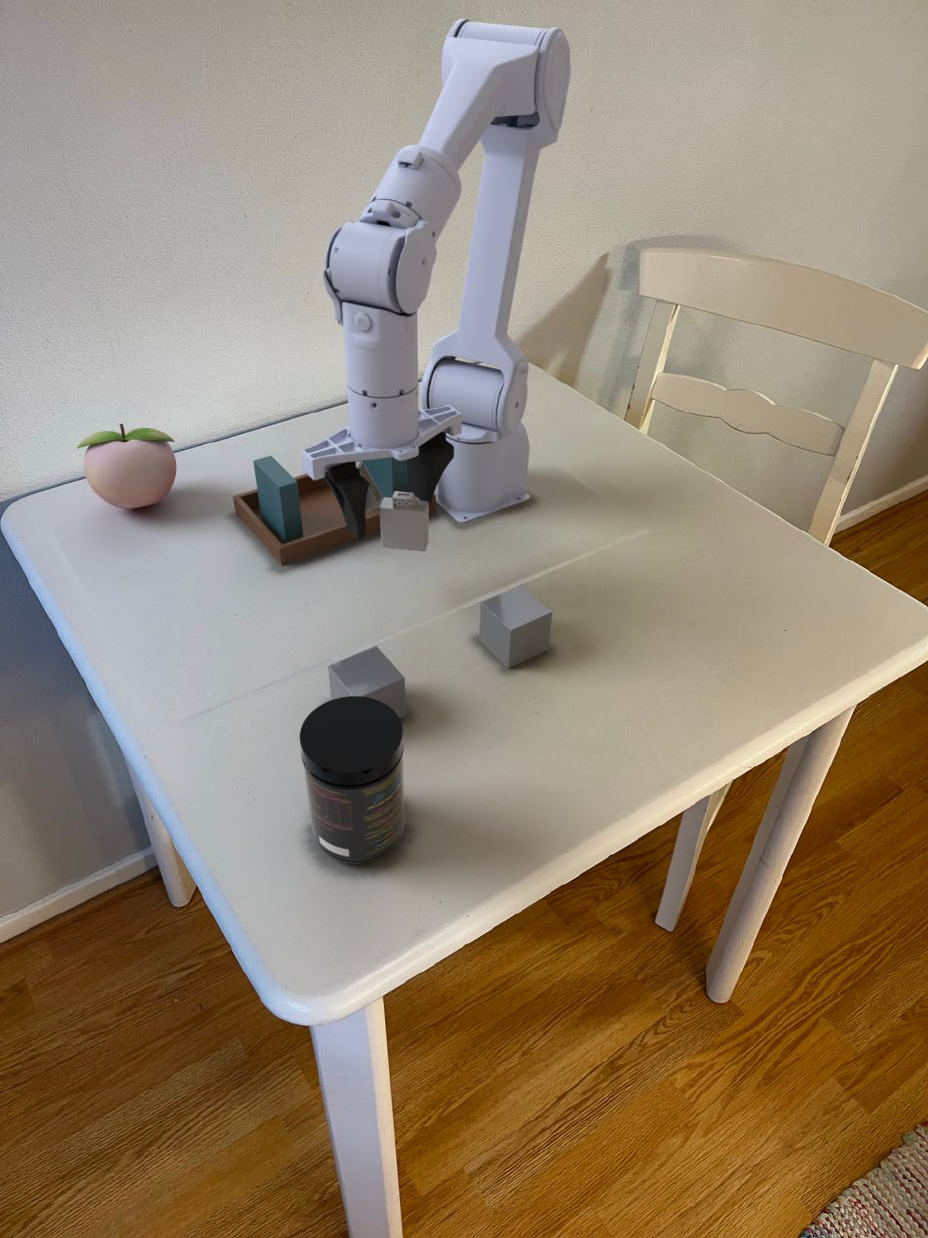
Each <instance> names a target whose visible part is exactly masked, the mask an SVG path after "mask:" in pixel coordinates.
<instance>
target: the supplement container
mask: <svg viewBox="0 0 928 1238" xmlns="http://www.w3.org/2000/svg"><path fill="white" fill-rule="evenodd" d="M299 744H300V745H299V746H300V754H301V755H300V756H301V760H302V765H303V769H304V777H305V785H306V791H307V798H308V799H307V800H308V806H309V811H310V812H309V815H310V821H311V828H312V834H313V838H314V841H315V843H316V844H317V846H318V848H319V849H320V850H321V851H322V852H323V853H324V854H325V855H327V856H328V857H329V858H331V859H333V860H335V861H337V862H340V863H344V864H348V865H363V864H368V863H372V862H376V861H377V860H380V859H382V858H383V857H385V856H386V855H388V854H389V853H391V851H392V850H393V849H395V848H396V846H397V845H398V843H400V840H401V839H402V836H403V834H404V830H405V824H406V823H405V822H406V820H405V785H404V784H405V783H404V781H405V779H404V750H405V749H404V747H405V746H404V745H405V744H404V728H403V723H402V721H401V719H399V717H398V715H397V714H396V713H395V711H394V710H393V709H392V708H390V707H389V706H388V705H386V704H385V703H383V702H381V701H378V700H376V699H372V698H368V697H362V696H348V697H341V698H337V699H333V700H328V701H325V702H324V703H322V704H320V705H318V706H317V707H316V708H314V709H313V710H312V711H311V712H310V713H309V714H308V715H307V716H306V718H305V719H304V721H303V723H302V724H301V727H300V731H299Z"/></svg>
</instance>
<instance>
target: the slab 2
mask: <svg viewBox="0 0 928 1238" xmlns="http://www.w3.org/2000/svg"><path fill="white" fill-rule="evenodd" d="M365 466H366V467H367V469H368V471H369V473H370V474H371V476H372V478H373V480H374V481H375V483H376V485H377V487H378V488H379V490H380V492H381V494H382V495H383V498H385V497H387V498H392V497H393V494H394V492H395V491H399V492H408V470H407V463H406V460H404V461H398V460H396V459H395V458H394V457H389V458H380V459H372V460H365Z"/></svg>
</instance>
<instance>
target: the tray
mask: <svg viewBox="0 0 928 1238" xmlns="http://www.w3.org/2000/svg"><path fill="white" fill-rule="evenodd" d="M363 462H364V464H365V460H363ZM293 478H294V479H295V480H296V481H297V482H298V491H299V500H300V510H301V519H302V528H303V537H302V538H300V539H297V540H294V541H291V542H288V543H285V544H284V543H283V542H282V541H281V540H280V539H279V537H278V536H277V535H276V534H275V533H274V532H273V531H272V530H271V528H270V527H269V526H268V525H267V524H266V523H265V522H264V521H263V519H262V518H261V511H260V504H259V497H258V490H257V488H255V489H252V490H248V491H244V492H242V493H238V494H236V495H233V496H232V500H233V506H234V513H235V514H236V516H237V517H239V519H240V520H241V521H242V523H243V524H244V525H245V526H246V527H247V528H248V529H249V530H250V531H251V532H252V534H253V535H254V536H255V537H256V538H257V540H258V541H259V542H260V543H261V544H262V545H263V547H264V548H265V549H266V550H267V552H269V553H270V555H271V556H272V557H273V558H274V559H275V561H277V563H278V564H279V565H280V567H283V566H285V565H289V564H291V563H294V562H296V561H299V560H302V559H306V558H308V557H311V556H313V555H317V554H319V553H322V552H325V551H327V550H331V549H334V548H336V547H339V546H342V545H345V544H347V543H351V542H354V541H356V540H357V539H356V538H355V537H354V536H353V535H352V534H351V533H350V532H349V531H348V529H347V525H346V522H345V518H344V516H343V513H342V510H341V508H340V505H339V503H338V501H337V499H336V497H335V495H334V493H333V491H332V490H331V488H330V486H329V485H328V483H327V481H326V480H325V478H321V479H318V480H313V479H312V478H311V477H310V476H309V475H308V474H307V473H304V474H301V475H300V474H299V475H298V476H294V477H293ZM435 512H436V513H437V503H436V495H435V494H434V495H433V498H432V501H431V505H430V508H429V515H430V514H434V513H435ZM365 516H366V537H367V536H371V535H374V534H376V533H379V532H381V525H380V507H377V508H374V509H371V510H368V511H366V510H365Z"/></svg>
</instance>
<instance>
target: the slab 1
mask: <svg viewBox="0 0 928 1238" xmlns="http://www.w3.org/2000/svg"><path fill="white" fill-rule="evenodd" d="M253 470H254V476H255V482H256V483H255V484H256V489H257V490H258V497H259V504H260V511H261V518H262V519H263V521H264V522H265V523H266V524H267V525H268V526H269V527H270V528H271V530H272V531H273V532H274V533H275V534H276V535H277V536H278V537H279V539H280V540H281V541H282V542H283V543H284V544H285V543H288V542H291V541H294V540H297V539H300V538H302V537H303V528H302V519H301V510H300V500H299V491H298V482H297V481H296V480H295V479H294V477H293V476H292V475H291V473H289V472H288V471H287V470H286V469H285V468H284V467H283V465H281V464H280V462H278V461H277V460H276V459H275V458H274V457H273V455H268V456H264V457H260V458H257V459H255V460H253Z"/></svg>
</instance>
